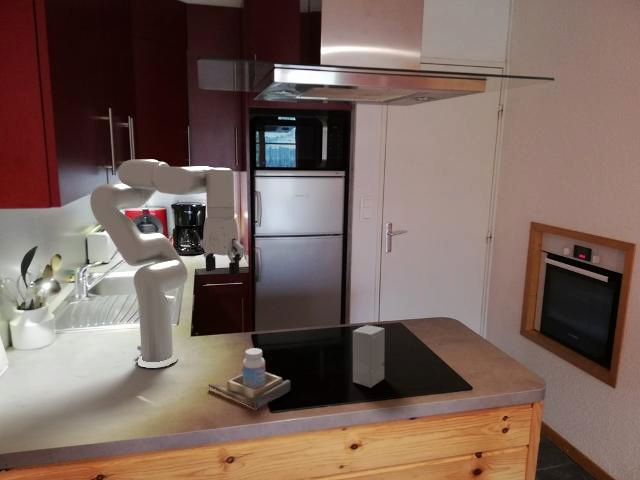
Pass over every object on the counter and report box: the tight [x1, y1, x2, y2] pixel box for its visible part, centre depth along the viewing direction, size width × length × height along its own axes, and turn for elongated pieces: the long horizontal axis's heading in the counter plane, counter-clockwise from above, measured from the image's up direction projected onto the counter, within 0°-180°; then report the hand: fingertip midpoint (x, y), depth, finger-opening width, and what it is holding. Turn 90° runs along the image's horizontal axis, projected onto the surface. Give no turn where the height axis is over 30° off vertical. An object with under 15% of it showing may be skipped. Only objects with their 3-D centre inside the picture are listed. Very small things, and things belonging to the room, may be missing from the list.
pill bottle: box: [242, 347, 266, 390], centre depth 140 cm, size 6×6×11 cm
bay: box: [207, 367, 291, 409], centre depth 142 cm, size 18×14×4 cm
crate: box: [226, 371, 283, 399], centre depth 140 cm, size 11×11×4 cm
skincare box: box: [352, 324, 386, 389], centre depth 149 cm, size 8×7×16 cm
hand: (222, 273), depth 144 cm, fingers open, 9 cm apart
